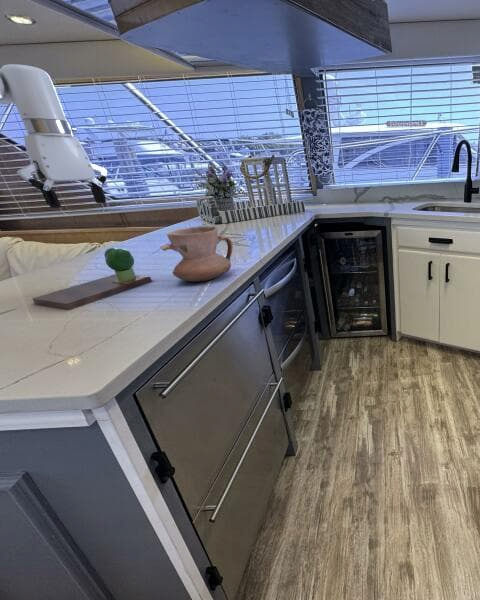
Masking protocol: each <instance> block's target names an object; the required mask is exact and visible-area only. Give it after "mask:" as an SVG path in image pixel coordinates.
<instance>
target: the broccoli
mask: <svg viewBox="0 0 480 600" xmlns="http://www.w3.org/2000/svg"><path fill="white" fill-rule="evenodd" d="M104 258H105V259H104V261H105V264H106V266H107V267H108V268H110V269H111V270H113V271H114V273H115V274H116V276H117V278H118V281H119V282H126V281H131V280H134V279H136V273H135V270H134V268H133V266H134V264H135V258H134V256H133V255H132V253H131V252H130V251H129V250H128V249H125V248H116V247H110V248H108V249H106V250H105V251H104Z"/></svg>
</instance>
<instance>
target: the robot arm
mask: <svg viewBox="0 0 480 600" xmlns="http://www.w3.org/2000/svg"><path fill="white" fill-rule="evenodd" d="M13 104H14V105H15V107H16V110H17V112H18V114H19V116H20V118H21V122H22V124H23V126H24V128H25V130H26V133H27V134H26V135H23V141H24V146H25V150H26V154H27V157H28V160H29V164H28V165H26V166H24V167H22V168H20V169H18V170H17V171H16V174H17V175H18V176H19V177H21V178H22V179H23V180H24V181H25V182H26V183H27V184H28V185H30V186H32V187H34V188H35V189H37V190H38V191H40V192H41V194H42V197H43V198H44V201H45V203H46V204H47V205H49V207H50V208H51V209H61V208H62V205H61V202H60V200H59V197H58V195H57V193H56V191H55V190H53V189H52V187H53V186H54V184H55V182H75V181H84V182H86V183H87V184H88V185H90V186H91V187H90V191H91V194H92V196H93V199H94V201H95V203H96V204H107V200H106V199H107V197H106V195H105V192H104V189H103V187H104V184H105V182H106V181H107V175H108V169H107V168H104V167H102V166H99V165H97V164H95V163H93V162H91V161H90V158H89V156H88V153H86V150H85V149H84V147H83V146H82V143H81V142H80V141H79V139H78V137H76V136H74V133H77V132H78V129H77V127H76V126H74V125H70V122H68V120H67V116H66V113H65V111H64V109H63V106H62V104H61V101H60V98H59V96H58V93H57V91H56V87H55V85H54V83H53V80H52V78H51V76H50V75H49V74H48V72H47V71H45V70H44V69H42V68H39V67H36V66H32V65H26V64H17V63H9V64H3V66H1V68H0V105H13ZM95 172H97V173H98V174H97V175H98V176H97V177H96V173H95ZM32 173H34V176H35V177H36V178H34V176H33V175H32Z"/></svg>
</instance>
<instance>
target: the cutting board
mask: <svg viewBox="0 0 480 600" xmlns="http://www.w3.org/2000/svg"><path fill="white" fill-rule="evenodd" d="M135 275H136V274H135ZM151 282H153V280H152V277H151V276H147V275H138V274H137V275H136V279H134V280H131V281H126V282H119V281H118V278H117V276H116V273H115V274H112V275H111V274H110V275H108V276H104V277H100V278H97V279H94V280H89V281H87V282H83V283H80V284H76V285H73V286H70V287H66V288H63V289H60V290H56V291H53V292H48V293H46V294H43V295H38V296H35V297H32V298H31V299H32V302H33V303H34V304H35V305H40V306H45V307H52V308H58V309H64V310H72V309H75V308H78V307H81V306H84V305H87V304H89V303H93V302H95V301H98V300H101V299H104V298H108V297H110V296H113V295H116V294H119V293H123V292H125V291H128V290H131V289H135V288H138V287H140V286H143V285H146V284H149V283H151Z"/></svg>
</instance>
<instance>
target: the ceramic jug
mask: <svg viewBox="0 0 480 600" xmlns="http://www.w3.org/2000/svg"><path fill="white" fill-rule="evenodd" d="M166 237H167V239H168V241H169V242H170V244H169V243H166V244H163V245H161V246H160V249H161V250H162V252H166V251H168V250H170V251H173V252H178V253H179V254H180V255H181V257H182V259H180V261H179V262H178V263H176V265H175V266H174V268H173V270H172V275H173V276H174V277H176V278H177V279H179V280H181V281H184V282H190V283H191V282H192V283H193V282H194V283H197V282H205V281H206V282H207V281H211V280H214V279H217V278H219V277H221V276H224V275H225V274H227V273H228V272H229V271H230V270H231V268H232V263H231V257H232V254H233V250H234V245H233V241H232V239H231V238H230V237H229V236H227V235H219V232H218V227H217V226H215V225H198V226H189V227H184V228H183V227H182V228H178V229H174V230H170V231H167V232H166ZM221 241H225V242H226V245H227V251H226V255H225V256H223V255H221V254H219V253H218V252H216V250H217V246H218V245H219V243H220V242H221Z"/></svg>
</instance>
